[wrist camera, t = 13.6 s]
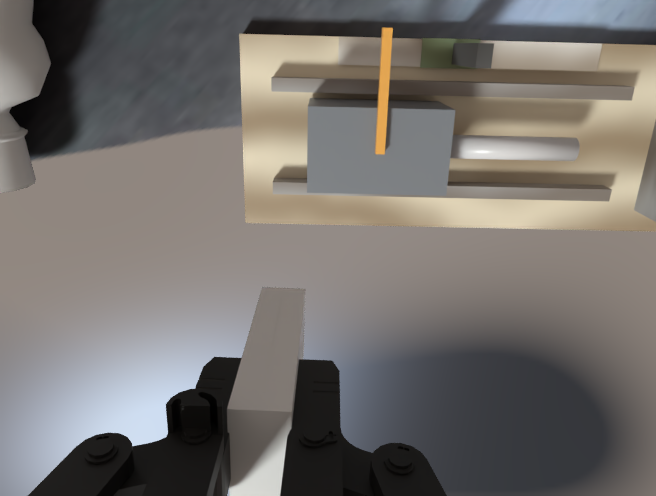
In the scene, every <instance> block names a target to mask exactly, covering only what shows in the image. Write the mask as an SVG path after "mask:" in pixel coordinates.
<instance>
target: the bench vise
mask: <svg viewBox="0 0 656 496" xmlns="http://www.w3.org/2000/svg"><path fill="white" fill-rule="evenodd" d="M239 37H240V68H241V98H242V129H243V158H244V159H243V160H244V191H245V218H246V219H245V221H246V223H276V224H277V223H278V224H279V223H280V224H281V223H282V224H325V225H372V226H419V227H467V228H473V227H474V228H517V229H518V228H519V229H563V230H611V231H612V230H615V231H656V45H633V44H598V43H561V42H524V41H487V40H481V39H446V38H422V39H413V38H392V49H391V65H390V80H389V96H388V100H415V101H439V102H441V103H443V104H445V105H447V106H449V107H451V108H453V109H455V120H454V129H453V135H487V136H529V137H571V138H577V139H578V140H579V144H580V149H579V154H578V157H577V159H576V160H575V161H542V160H499V159H456V158H450V166H449V175H448V184H447V193H446V196H435V195H389V194H343V193H307V139H308V104H309V99H310V98H335V99H375V100H378V88H379V70H380V53H381V38H376V37H337V36H300V35H263V34H239ZM454 43H494V49H493V57H492V65H491V69H490V68H472V67H465V66H459V65H453V64H452V55H453V45H454Z"/></svg>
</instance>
